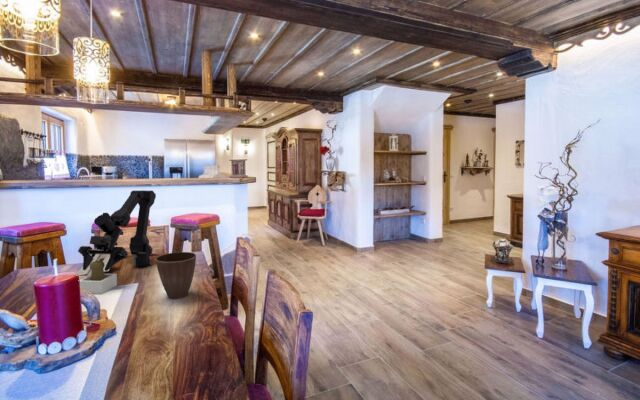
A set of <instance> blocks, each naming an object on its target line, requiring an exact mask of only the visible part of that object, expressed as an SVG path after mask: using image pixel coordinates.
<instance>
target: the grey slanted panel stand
mask: <svg viewBox="0 0 640 400" xmlns="http://www.w3.org/2000/svg"><path fill="white" fill-rule="evenodd" d="M93 258H94V259H93V261H92V262H94V261H103V262H104V268H103V270H104V273H105V272H109V271H110V269H108V270H107V271H105V267H106V265H107V262H108V260H109V258H110V254H96V255H95V256H94V257H93ZM92 262H91V263H92ZM91 263H90V264H91ZM91 271H92V270H91V269H90V265H89V266H88V268H87V269H86V270H83V265H82V266H81V267H80V269H79V270H78V271H77V272H76V274H78V275H77V276H81V275H87V276H90V275H91Z"/></svg>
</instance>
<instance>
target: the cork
mask: <svg viewBox="0 0 640 400" xmlns="http://www.w3.org/2000/svg"><path fill="white" fill-rule="evenodd" d="M103 268H104V262H103V261H94V262H92V263H91V264H90V269H91V270H92V271H91V281H101V280H103V279H105V275H104V274H105V272H104V270H103Z"/></svg>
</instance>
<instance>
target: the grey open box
mask: <svg viewBox="0 0 640 400" xmlns="http://www.w3.org/2000/svg"><path fill="white" fill-rule="evenodd" d="M104 275H105V279H103V280H101V281H91V275H87V276H85V277H82V278H81V279H79V280H80V287H81V290H86V291H89V292H91V293H90V294H98V295H99V294H101V295H103V294H104V293H106V292H108V291H109V290H111V289H113V288H115V287H116V286H118V278H117V277H118V276H117V275H118V274H117V273H104Z"/></svg>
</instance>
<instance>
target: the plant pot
mask: <svg viewBox="0 0 640 400" xmlns="http://www.w3.org/2000/svg"><path fill="white" fill-rule="evenodd" d="M196 260H197V254H196V253H194V252H188V251H178V252H176V251H175V252H170V253H164V254H160V255H159V256H157V257H156V258H155V264H156V268H157V273H158V276H159V278H160V281H161V284H162V287H163V290H164V292H165V293H166V295H167V297H168V298H169V299H172V300H176V299H177V300H179V299H182V298H185V297H187V296H188V295H189V292H190V291H191V290H190V289H191V286H192V283H193V278H194V275H195V271H196V270H195V269H196V263H197V261H196Z"/></svg>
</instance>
